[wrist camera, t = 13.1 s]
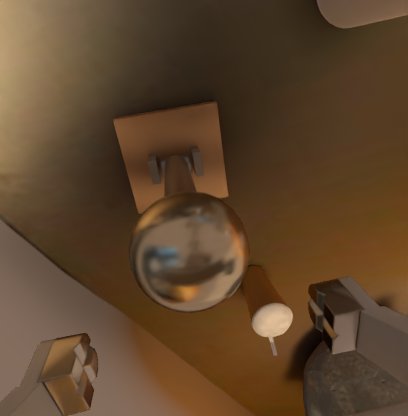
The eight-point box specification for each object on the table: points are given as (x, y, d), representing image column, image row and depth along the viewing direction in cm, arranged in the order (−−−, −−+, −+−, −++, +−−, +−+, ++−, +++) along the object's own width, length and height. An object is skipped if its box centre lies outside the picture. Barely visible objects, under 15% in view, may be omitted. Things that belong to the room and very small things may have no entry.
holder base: (114, 117, 29) (108, 124, 25) (214, 100, 30) (221, 104, 26) (139, 208, 33) (136, 224, 30) (225, 191, 34) (233, 205, 30)
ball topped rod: (102, 233, 9) (140, 354, 11) (259, 202, 9) (271, 325, 11) (145, 142, 29) (156, 191, 30) (195, 134, 29) (203, 182, 31)
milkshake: (233, 294, 40) (254, 357, 31) (236, 261, 38) (259, 320, 29) (265, 291, 41) (295, 353, 32) (269, 259, 39) (303, 316, 30)
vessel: (329, 410, 55) (410, 573, 37) (265, 356, 47) (331, 534, 29) (433, 348, 52) (578, 495, 34) (384, 276, 43) (547, 424, 25)
